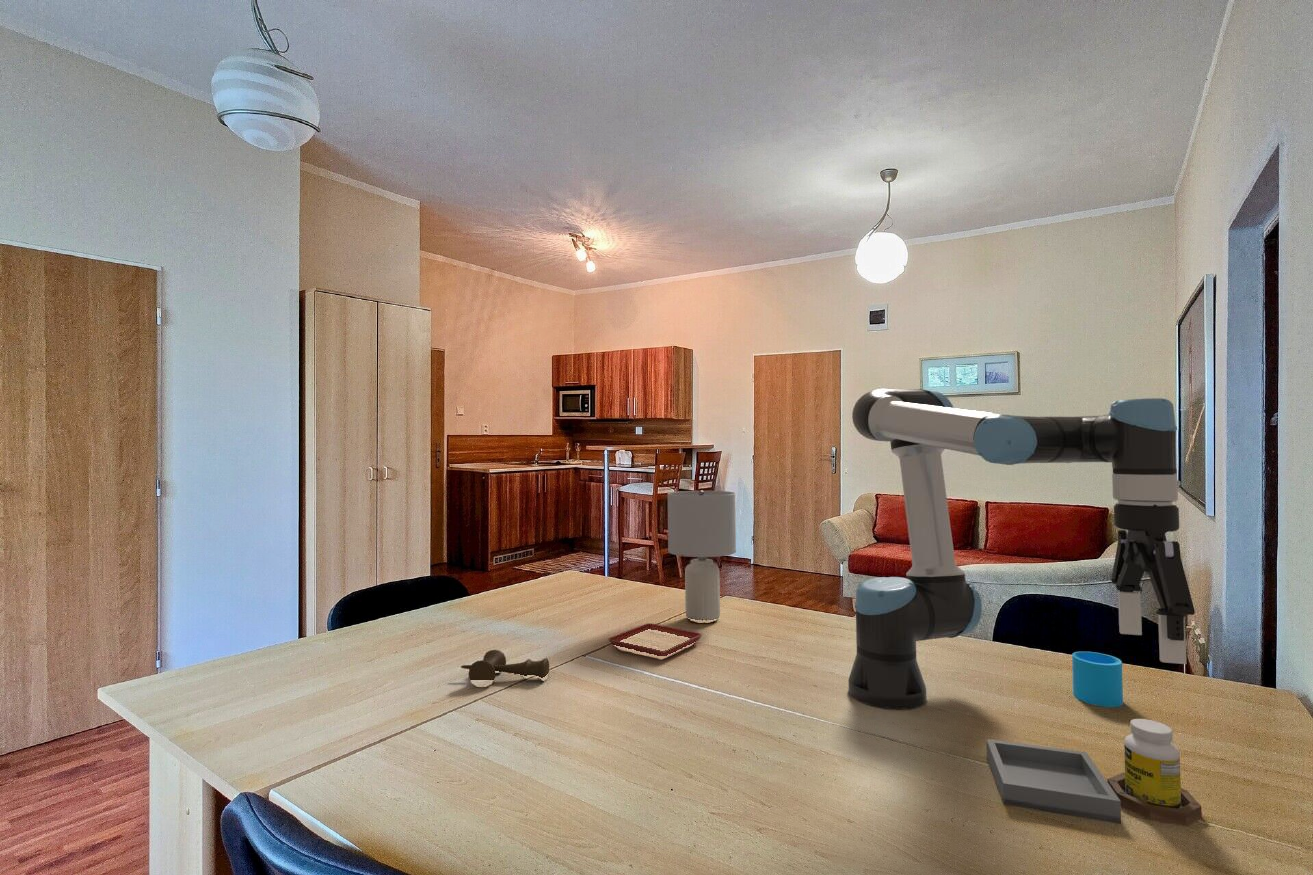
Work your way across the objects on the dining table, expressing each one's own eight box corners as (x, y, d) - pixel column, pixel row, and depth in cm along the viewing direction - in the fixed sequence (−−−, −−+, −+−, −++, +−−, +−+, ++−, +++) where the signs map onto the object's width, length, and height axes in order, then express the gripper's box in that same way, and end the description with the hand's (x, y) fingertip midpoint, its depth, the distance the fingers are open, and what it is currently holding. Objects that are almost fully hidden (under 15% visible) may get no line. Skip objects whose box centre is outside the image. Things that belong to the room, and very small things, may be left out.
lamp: (664, 628, 174) (662, 492, 175) (674, 609, 194) (672, 488, 195) (735, 630, 171) (733, 492, 171) (737, 611, 191) (736, 488, 192)
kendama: (542, 691, 131) (452, 687, 132) (552, 676, 140) (468, 672, 142) (543, 663, 131) (452, 660, 132) (553, 649, 141) (469, 646, 142)
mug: (1131, 709, 118) (1129, 666, 118) (1082, 704, 120) (1081, 663, 120) (1104, 685, 129) (1103, 647, 129) (1060, 682, 131) (1059, 644, 131)
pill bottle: (1114, 792, 89) (1112, 716, 90) (1153, 789, 90) (1151, 714, 90) (1152, 817, 83) (1150, 736, 83) (1193, 815, 84) (1191, 734, 84)
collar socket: (1125, 815, 84) (1125, 804, 84) (1100, 779, 93) (1100, 769, 93) (1212, 829, 80) (1212, 817, 80) (1178, 791, 89) (1177, 780, 90)
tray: (1003, 804, 87) (1003, 783, 87) (986, 757, 100) (986, 738, 100) (1121, 823, 82) (1120, 801, 82) (1086, 771, 95) (1086, 752, 95)
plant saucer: (648, 633, 170) (648, 621, 170) (703, 645, 160) (703, 632, 160) (606, 651, 156) (606, 638, 156) (664, 665, 145) (664, 651, 145)
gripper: (1224, 511, 77) (1231, 679, 76) (1138, 497, 101) (1143, 625, 100) (1153, 510, 79) (1159, 673, 79) (1085, 496, 103) (1089, 622, 102)
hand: (1150, 647), depth 89 cm, fingers open, 13 cm apart
